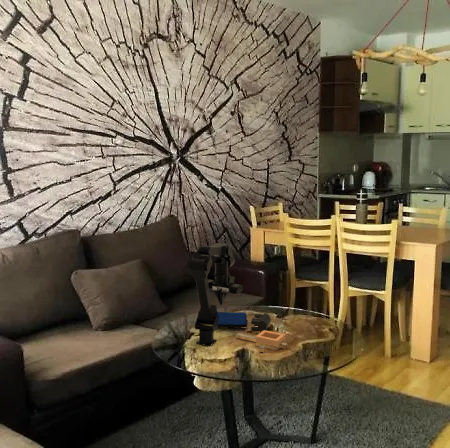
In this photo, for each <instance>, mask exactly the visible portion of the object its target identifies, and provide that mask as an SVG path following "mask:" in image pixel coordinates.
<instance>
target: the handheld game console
mask: <svg viewBox="0 0 450 448" xmlns="http://www.w3.org/2000/svg"><path fill="white" fill-rule="evenodd" d="M217 312H218V313H217V314H218V316H219V319H218V327H217V329H218V328H219V329H221V328H224V329H225V328H227V327H229V328H230V327H248V319H247V313H246V312H245V311H244V312H243V311H241V312H239V311H238V312H237V311H233V312H232V311H217Z"/></svg>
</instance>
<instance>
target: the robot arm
mask: <svg viewBox="0 0 450 448" xmlns="http://www.w3.org/2000/svg"><path fill="white" fill-rule="evenodd" d="M202 256H203V257H204V256H205V257H208V259H205V258H204V259H203V258H201V257H202ZM213 256H214V257H216V258H215V260H214V262H213V260H212V257H213ZM189 258H190V259H189V261H188V263H187V269H188V271H189V275H190V276H191V277H192V278H193V279H194V281H195V285H196V289H197V290H196V291H197V296H198V301H199V306H200V309H199V310H198V312H197V315H196V316H197V317H196V320H195V323H194V330H199V331H198V332H199V333H198V334H199V335H198V336H199V340H197V341H196V344H197V345H202V346H206V347H210V346H212V345H213V344H215V343H216V342H217V339H214V338H215V337H214V335H215V333H214V332H215V331H216V330H217V329H218V328H217V327H218V319H219V316H218V314H217V313H218V312H219V311H218V306H217V305H216V304H213V303H212V297H211V293H210V292H212V293H214V296H215V297H216V299H217V301H218V303H219V305H220V306H223V305H224V302H225V300H226V297H227V295H228V293H230V294H234V295H237V294H240V293H241V292H243V287H244V286H243V285H242V284H237V283H235V278H236V277H235V276H232V275H231V274H230V272H229V268H230V267H232V266H233V265H234V264H235V262H236V259H235V258H236V257H235V256H234V255H233V252H232V247H230V245H229V244H228V243H217V242H216V243H214V244H212V245H200V246H199V247H198V250H197V251H195V252H194V253H193V254H192V255H191V256H190V257H189ZM213 263H214V269H215V270H214V273H213V277H214V280H213V279H208V275H209V273H210V271H211V268H212V265H213ZM231 284H232V285H231ZM210 288H212V289H211V291H210ZM214 342H215V343H214ZM211 344H212V345H211Z"/></svg>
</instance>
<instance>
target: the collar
mask: <svg viewBox="0 0 450 448" xmlns="http://www.w3.org/2000/svg"><path fill="white" fill-rule="evenodd" d="M280 333H281V332H280ZM280 333H277V332H274V331H269V330H263V331H262V332H261V333H259V334H257V335H255V336H256V342H259V343H262V344H268V345H273V346H276V347H278V346H279V344H280V343H281V342H282V341H283V342H284V341H285V342H286V334H285V333H282V334H280Z"/></svg>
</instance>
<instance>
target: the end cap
mask: <svg viewBox="0 0 450 448" xmlns="http://www.w3.org/2000/svg"><path fill="white" fill-rule="evenodd" d="M271 320H272V317H271V316H270V314H268V313H267V312H264V313H263V314H260V313H258V314H257V313H255V314H254V315H253V317H252V319H251V322H250V323H251V325H253V326H251V327H250V328H251V329H250V331H251V332H252V331H260V332H262V331H263V330H266V331H268V327H270V326H269V325H270V324H271ZM255 326H258V327H255Z"/></svg>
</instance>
